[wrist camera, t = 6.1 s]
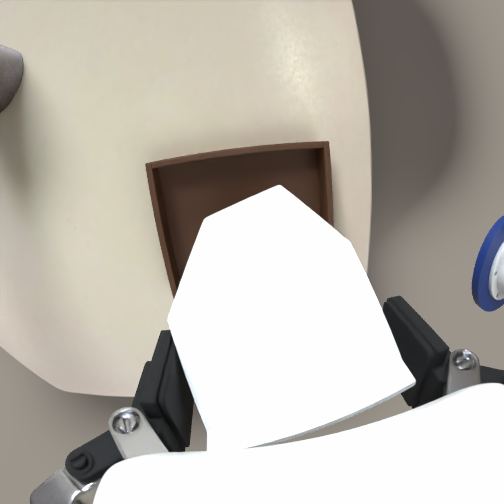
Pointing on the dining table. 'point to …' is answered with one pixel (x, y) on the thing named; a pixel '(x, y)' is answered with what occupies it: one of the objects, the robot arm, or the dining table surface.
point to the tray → (231, 189)
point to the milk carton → (279, 326)
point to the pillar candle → (9, 74)
